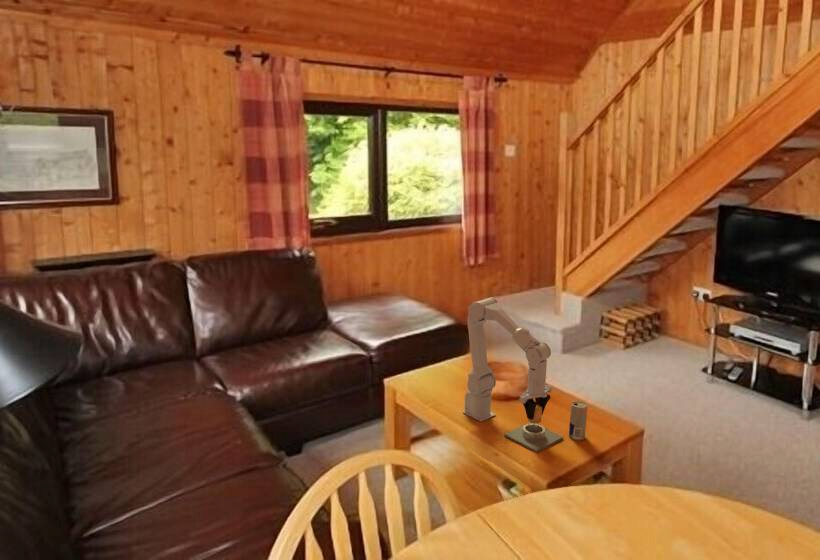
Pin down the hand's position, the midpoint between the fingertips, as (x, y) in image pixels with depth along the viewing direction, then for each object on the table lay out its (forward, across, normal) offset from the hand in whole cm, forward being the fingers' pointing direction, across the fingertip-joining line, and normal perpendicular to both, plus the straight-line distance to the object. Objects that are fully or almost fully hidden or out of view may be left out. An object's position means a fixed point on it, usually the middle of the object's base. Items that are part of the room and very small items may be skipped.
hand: (534, 416), depth 200 cm
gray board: (+8, 0, 0) cm, 8 cm away
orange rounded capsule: (+1, 0, 0) cm, 1 cm away
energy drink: (+8, +12, -9) cm, 17 cm away
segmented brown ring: (+8, 0, 0) cm, 8 cm away
